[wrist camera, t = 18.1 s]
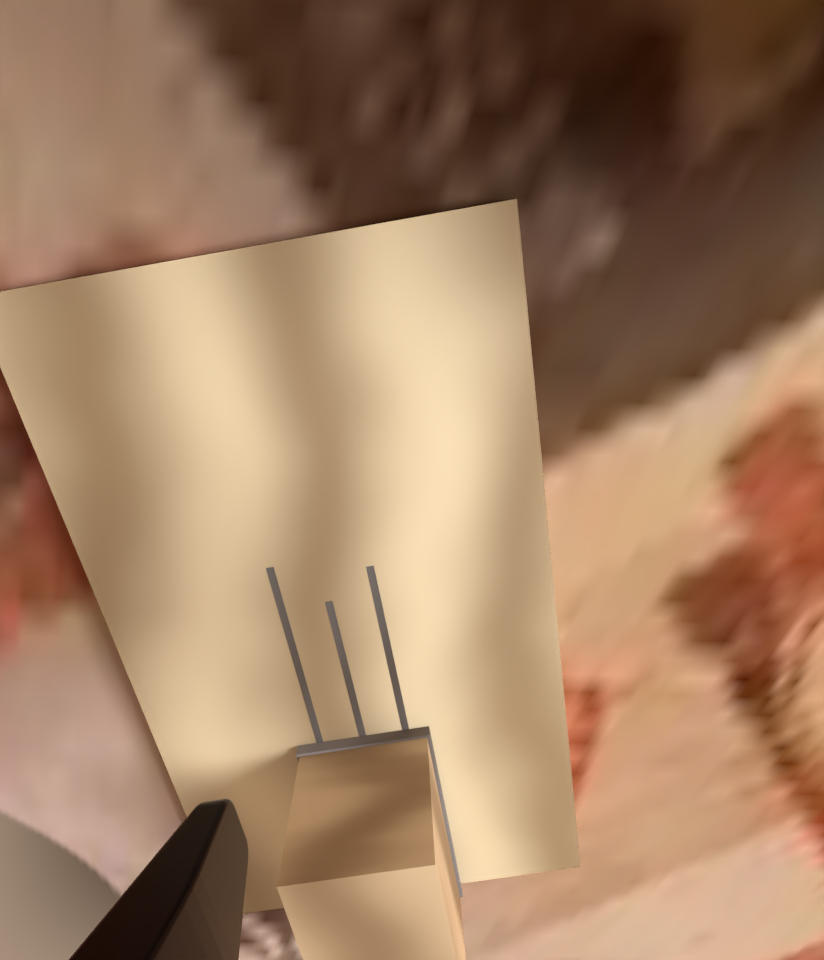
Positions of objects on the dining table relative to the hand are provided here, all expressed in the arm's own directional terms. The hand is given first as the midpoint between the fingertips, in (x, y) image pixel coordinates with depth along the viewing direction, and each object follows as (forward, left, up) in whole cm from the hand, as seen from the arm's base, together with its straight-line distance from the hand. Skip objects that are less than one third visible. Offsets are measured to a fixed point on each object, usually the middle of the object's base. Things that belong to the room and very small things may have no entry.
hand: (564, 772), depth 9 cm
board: (+5, +5, -12) cm, 14 cm away
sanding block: (+5, +13, -11) cm, 18 cm away
